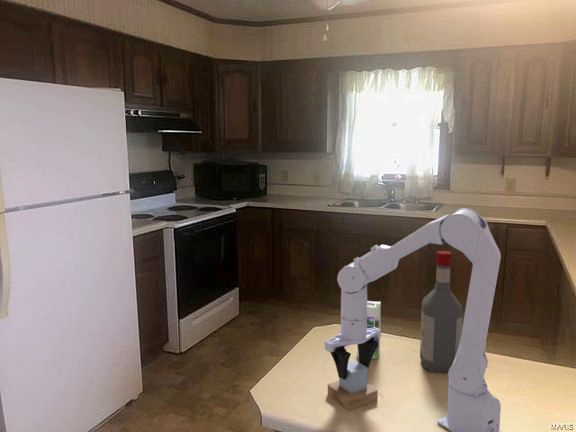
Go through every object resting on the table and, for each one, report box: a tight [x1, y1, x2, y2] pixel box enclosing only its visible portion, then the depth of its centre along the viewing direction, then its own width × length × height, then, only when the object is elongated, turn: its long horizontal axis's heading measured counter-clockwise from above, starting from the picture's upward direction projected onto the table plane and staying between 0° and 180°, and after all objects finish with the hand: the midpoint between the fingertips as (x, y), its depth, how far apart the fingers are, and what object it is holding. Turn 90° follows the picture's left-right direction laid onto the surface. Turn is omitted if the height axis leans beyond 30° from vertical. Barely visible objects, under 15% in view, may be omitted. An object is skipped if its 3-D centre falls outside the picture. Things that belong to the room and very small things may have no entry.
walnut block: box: [327, 380, 379, 412], centre depth 105 cm, size 8×8×3 cm
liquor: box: [419, 250, 464, 374], centre depth 118 cm, size 9×9×30 cm
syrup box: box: [356, 300, 382, 360], centre depth 126 cm, size 6×6×14 cm
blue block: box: [338, 359, 369, 394], centre depth 104 cm, size 4×4×5 cm
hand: (353, 374), depth 104 cm, fingers open, 6 cm apart
